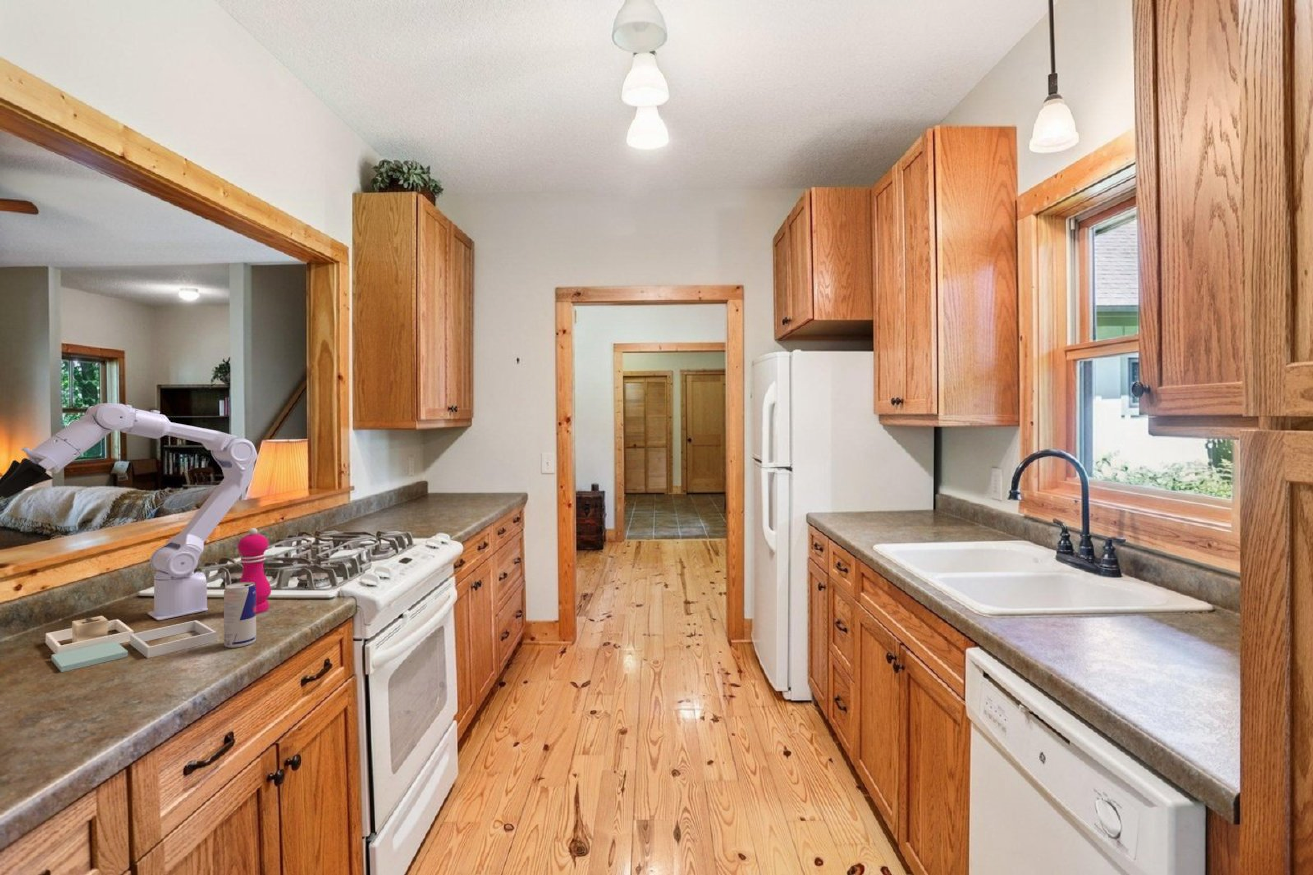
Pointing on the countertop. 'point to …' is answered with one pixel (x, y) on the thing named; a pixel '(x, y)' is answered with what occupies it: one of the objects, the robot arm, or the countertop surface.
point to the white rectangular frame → (151, 651)
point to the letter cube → (89, 628)
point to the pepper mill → (255, 566)
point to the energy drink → (239, 614)
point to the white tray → (67, 634)
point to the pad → (88, 656)
